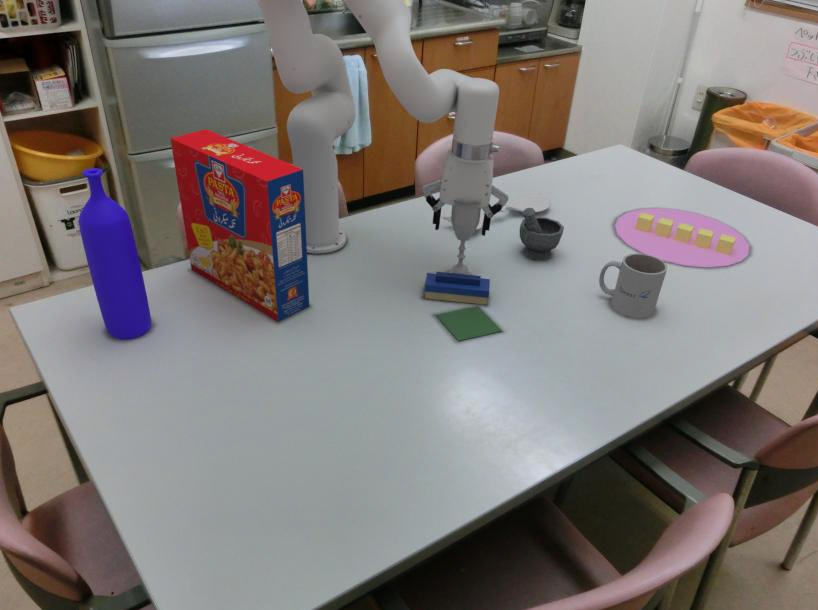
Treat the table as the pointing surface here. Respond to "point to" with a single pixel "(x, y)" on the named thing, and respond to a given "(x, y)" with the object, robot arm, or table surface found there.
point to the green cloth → (468, 323)
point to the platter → (682, 237)
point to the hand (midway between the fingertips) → (460, 230)
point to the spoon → (520, 206)
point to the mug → (636, 284)
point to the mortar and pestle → (539, 234)
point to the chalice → (464, 230)
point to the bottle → (113, 262)
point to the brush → (457, 287)
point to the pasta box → (244, 221)
